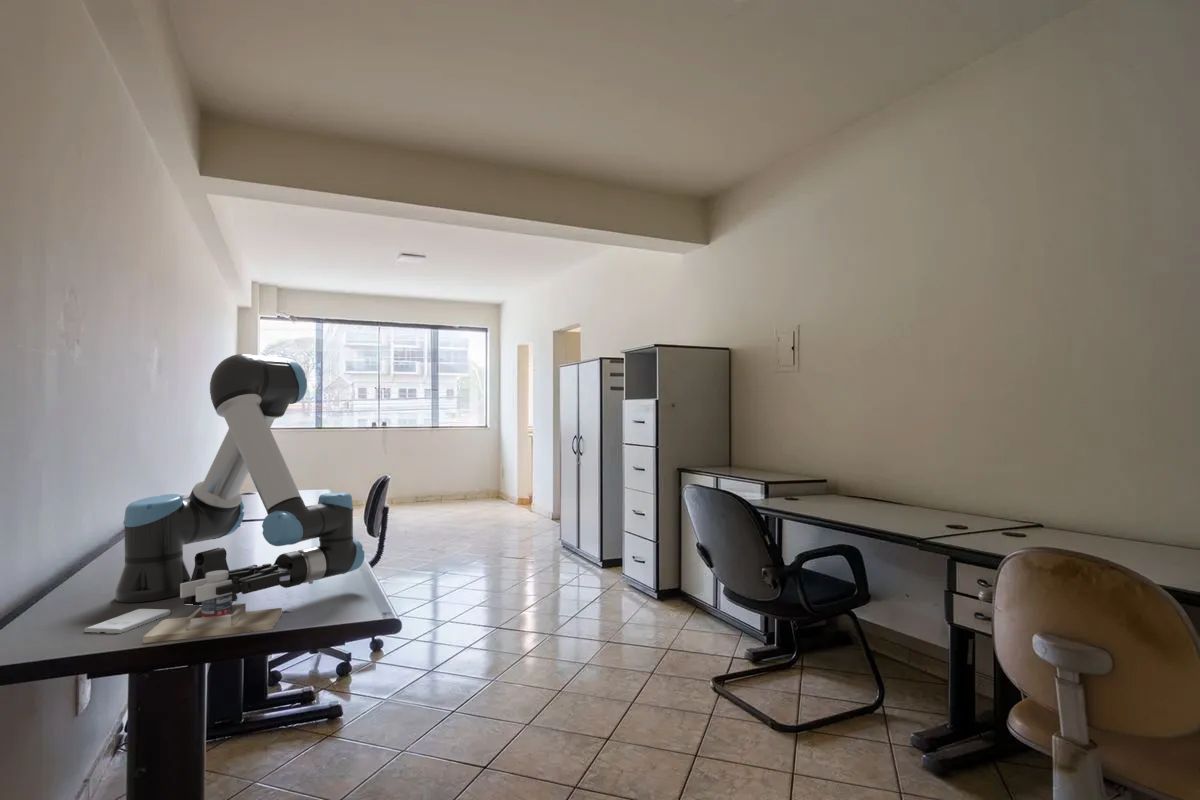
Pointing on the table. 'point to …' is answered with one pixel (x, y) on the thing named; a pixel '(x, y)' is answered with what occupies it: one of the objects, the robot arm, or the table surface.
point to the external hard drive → (128, 621)
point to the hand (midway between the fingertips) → (189, 592)
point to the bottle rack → (213, 624)
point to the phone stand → (208, 568)
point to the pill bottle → (218, 604)
